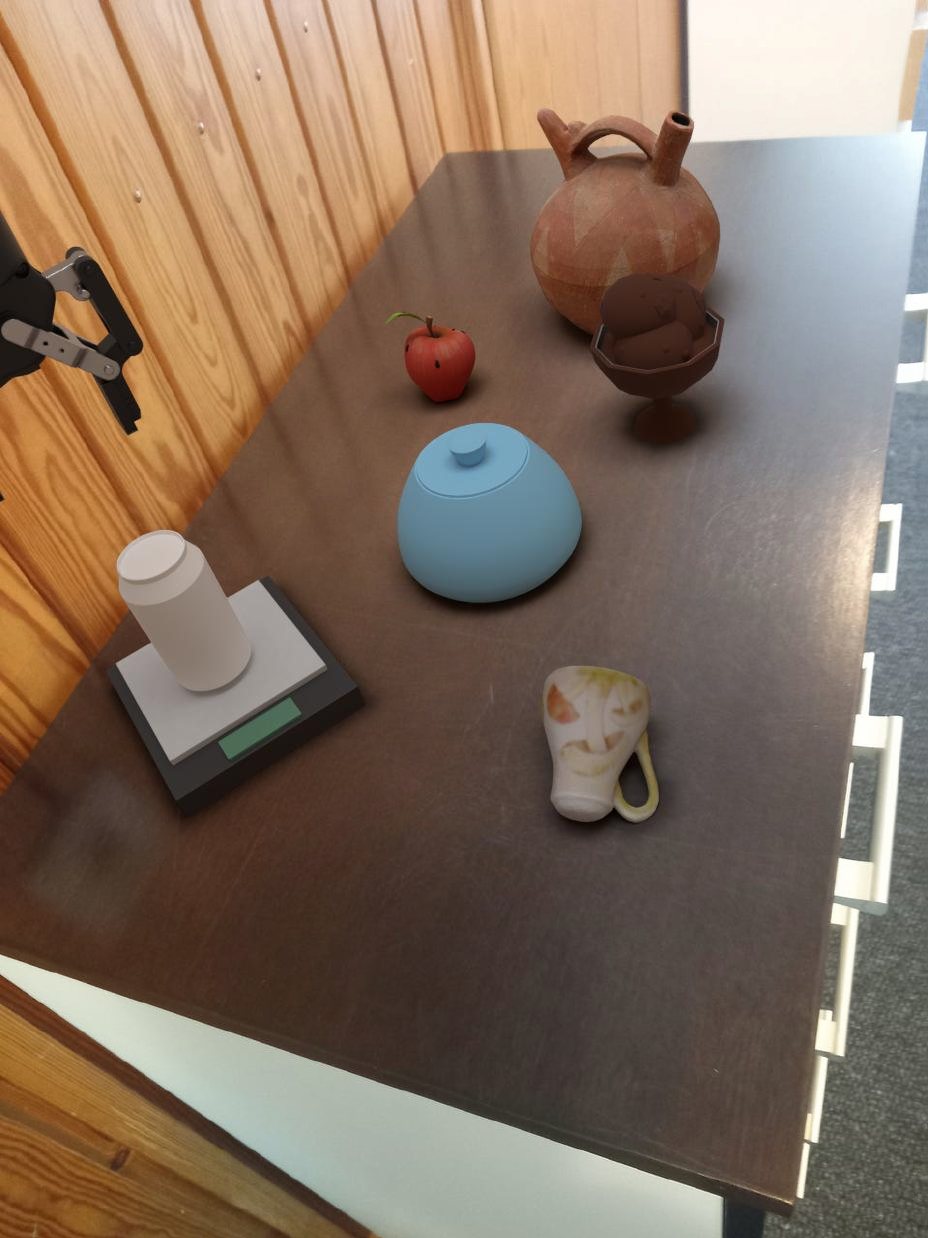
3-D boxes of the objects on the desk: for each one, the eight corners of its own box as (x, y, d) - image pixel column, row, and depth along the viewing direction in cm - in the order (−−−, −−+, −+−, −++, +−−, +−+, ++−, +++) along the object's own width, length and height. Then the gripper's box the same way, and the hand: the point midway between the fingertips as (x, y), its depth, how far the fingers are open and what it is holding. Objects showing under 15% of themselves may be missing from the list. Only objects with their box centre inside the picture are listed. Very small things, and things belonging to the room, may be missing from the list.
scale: (189, 819, 73) (171, 796, 71) (118, 689, 84) (101, 665, 82) (367, 705, 77) (355, 680, 75) (277, 594, 87) (265, 569, 85)
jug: (508, 346, 106) (468, 153, 91) (593, 255, 114) (568, 66, 100) (673, 376, 96) (657, 166, 82) (752, 275, 105) (749, 69, 91)
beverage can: (264, 633, 80) (204, 519, 72) (243, 696, 76) (178, 583, 67) (191, 637, 82) (124, 526, 73) (167, 699, 77) (93, 589, 69)
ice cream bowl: (697, 475, 86) (688, 319, 76) (581, 449, 92) (557, 299, 81) (748, 401, 92) (746, 244, 81) (635, 380, 97) (618, 231, 86)
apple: (458, 364, 105) (435, 275, 98) (496, 389, 101) (475, 298, 94) (396, 399, 103) (368, 312, 96) (432, 427, 99) (406, 337, 92)
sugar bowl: (443, 643, 80) (406, 534, 71) (383, 532, 90) (345, 426, 82) (617, 566, 81) (600, 451, 73) (539, 466, 92) (516, 355, 83)
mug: (530, 842, 66) (493, 700, 64) (586, 771, 74) (556, 642, 72) (638, 847, 63) (604, 697, 60) (686, 771, 70) (657, 635, 68)
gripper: (21, 122, 54) (151, 383, 65) (-252, 235, 50) (-64, 491, 62) (60, 155, 49) (193, 432, 60) (-240, 283, 45) (-38, 552, 57)
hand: (63, 462), depth 61 cm, fingers open, 8 cm apart
